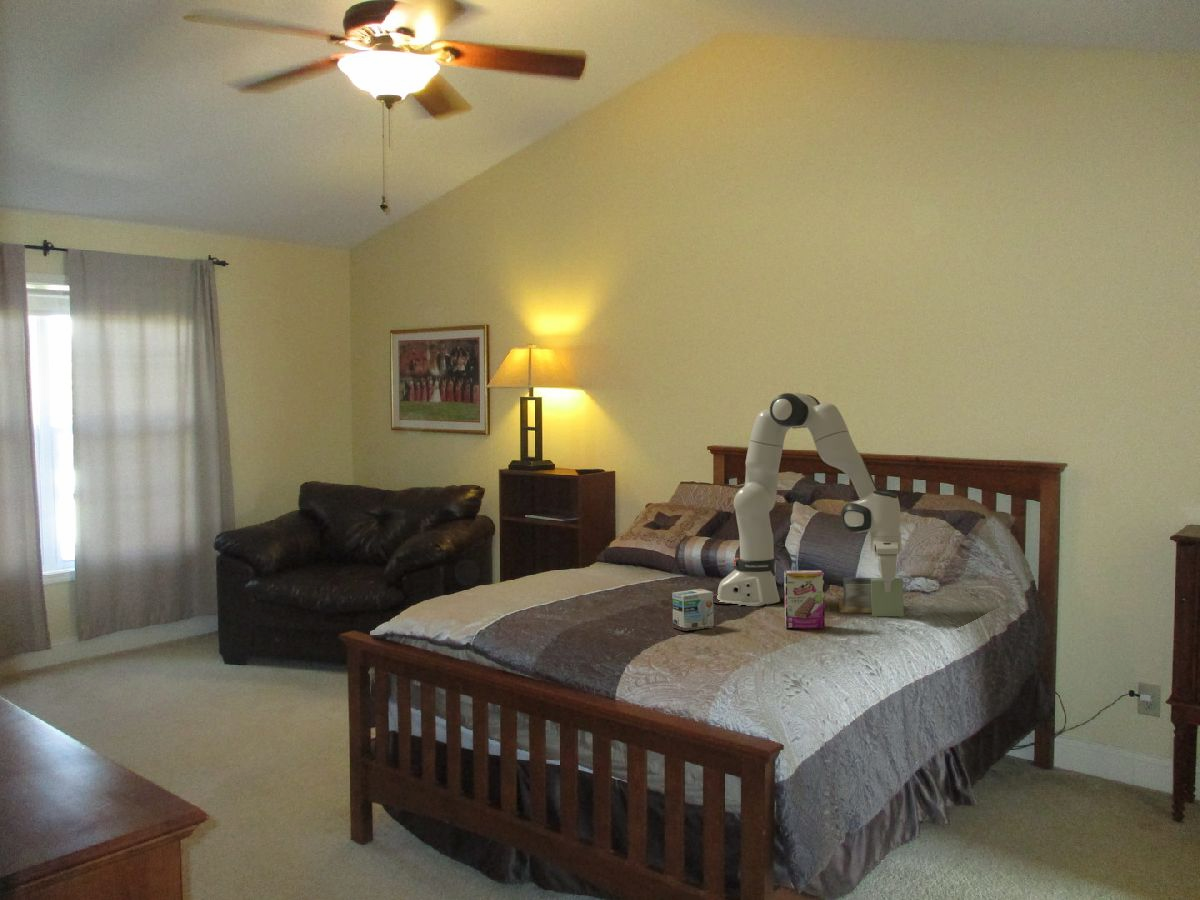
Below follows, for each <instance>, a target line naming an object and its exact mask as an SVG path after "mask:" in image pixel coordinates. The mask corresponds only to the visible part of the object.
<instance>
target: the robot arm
mask: <svg viewBox="0 0 1200 900" xmlns="http://www.w3.org/2000/svg"><path fill="white" fill-rule="evenodd" d="M801 428H807V429H808V430H809V432H810V433H811V436H812V439H813V442H814V446H815V448H816V449H815V450H816V452H817V453H818V456H819V457H820V459H821V460H822V461H823V462H824V463H825V464H827V465H828V466H831V467H832V468H833V467H834V468H836V469H838V470H840V471H842V472H843V473H844V474H846V475H847V477H848V478H849V479H850V481H851V483H852V485H853V487H854V489H855V492H856V494H857V496H858V500H854V501H851V502H848V503H846V504H845V505H844V506H843V507H842V508H841V511H840V522H841V524H842V526H843V528H844V529H846V530H847V531H849V532H851V533H856V534H857V533H858V534H859V533H864V532H866V533H867V532H869V534H870V551H871V552H873V553H874V554H875V557H877V558H878V570H879V574H880V578H882V580H884V591H885V592H888V593H889V592H891V581H892V580H895V578H896V575H897V562H898V561H897V560H898V555H899V554H900V552H901V551H902V534H901V533H902V532H901V530H900V529H901V528H900V526H901V525H900V524H901V520H902V519H901V516H902V514H901V507H900V506H901V505H900V499H899V497H898V495H897V494H895V493H894V492H892V491H888V490H878V487H877V485H876V483H875V481H874V478H873V477H872V474H871V472H870V470H869V468H868V466H867V463H866V462H865V460H864V458H863V456H862V455H861V454H860V453H859V451H858V449H857V448H856V445H855V443H854V441H853V439H852V437H851V434H850V432H849V428H848V426H847V424H846V421H845V419H844V418H843V416H842V414H841V412H840V410H839V409H838V407H837V406H836V405H835V404H833V403H830V402H829V403H827V402H826V403H825V402H824V403H821V402H820V401H819V400H818V399H817V398H815V396H812V395H809V394H805V393H800V392H793V393H791V392H784V393H781V394H779V395H777V396H776V397H775V398H773V400H772V401H771V403H770V406H769V408H766V409H762V410H761V411H759V412H758V414H757V415H756V417H755V420H754V422H753V427H752V429H751V433H750V437H749V442H748V448H747V452H746V456H745V458H746V459H745V479H744V486H742V487H741V488H740V489H739V490H737V492H736V494H735V496H734V499H733V508H734V510H735V517H736V523H737V529H738V535H739V536H738V537H739V538H738V539H739V557H736V558H734V559H733V569H734V570H733V571H731V572H730V573H728V575H726V576H725V577H724V578H723V579H722V580H721V581H720V582H719V583H718V584H719V585H718V588H717V594H718V595H717V594H716V595H717V599H718V600H720V601H719V602H725V603H732V604H738V605H737V606H741V605H746V606H745V607H762V606H764V605H765V604H766V605H772V604H776V603H779V602H780V601H781V598H780V596H779V592H778V591H779V590H778V588H777V583H776V573H777V565H776V564H777V563H776V558H775V556H774V554H775V553H774V552H775V551H774V549H775V547H774V533H773V530H772V525H771V519H770V512H771V511H772V510H773V509H774V508H775V504H776V501H777V493H778V481H779V470H780V464H781V459H782V455H783V449H784V444H785V438H786V434H787V432H788V431H789V430H790V429H794V430H795V429H801Z"/></svg>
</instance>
